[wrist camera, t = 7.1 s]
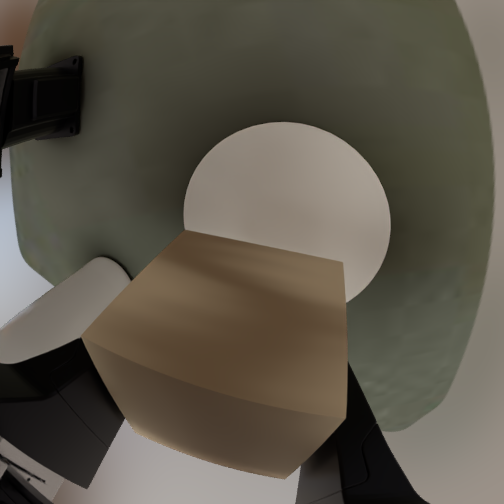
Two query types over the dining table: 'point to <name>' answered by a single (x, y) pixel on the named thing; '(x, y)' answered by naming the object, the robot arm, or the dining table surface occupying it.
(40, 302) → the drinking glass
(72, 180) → the dining table surface
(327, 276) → the oak block
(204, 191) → the plate
